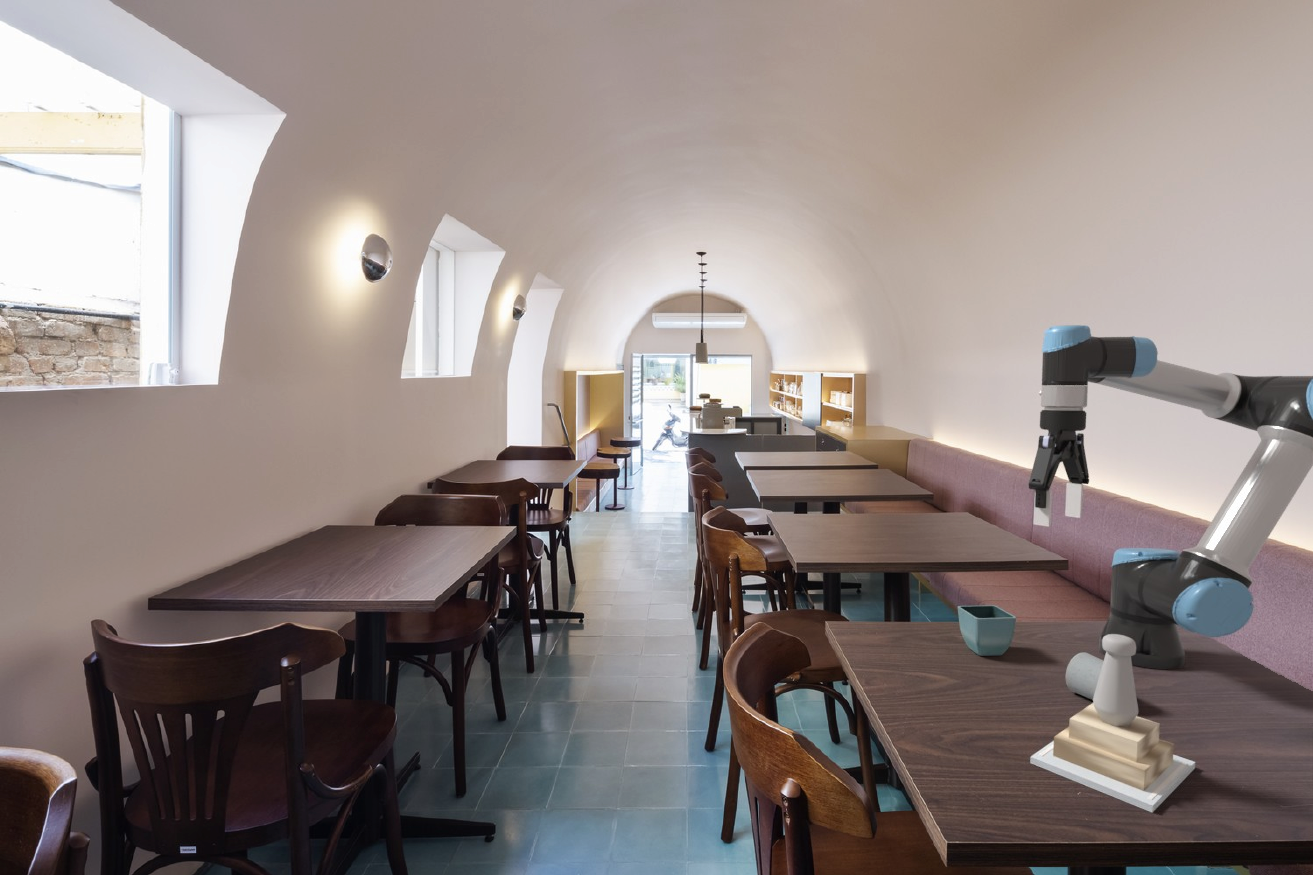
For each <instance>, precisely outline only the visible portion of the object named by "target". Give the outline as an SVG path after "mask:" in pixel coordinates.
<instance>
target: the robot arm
mask: <svg viewBox="0 0 1313 875" xmlns="http://www.w3.org/2000/svg"><path fill="white" fill-rule="evenodd" d="M1043 336H1044V338H1043V343H1042V344H1043V345H1042V350H1041V352H1042V364H1041V365H1042V369H1041V390H1040V391H1039V396H1041V397H1040V398H1041V399H1040V406H1041V407H1042V408H1044V409H1042V410H1041V411H1040V412H1039V413H1040V414H1039V415H1040V416H1039V428H1040V429H1041V430H1045V431H1048V433H1047V435H1039V437H1038V445H1037V450H1036V455H1035V458H1034V461H1033V466H1032V470H1031V473H1030V477H1029V481H1028V489H1029V490H1034V498H1033V499H1034V500H1033V502H1034V503H1033V519H1032V520H1033V521H1032V522H1033V523H1032V525H1035V526H1042V527H1051V523H1052V522H1051V520H1052V505H1053V504H1052V503H1053V502H1052V500H1053V490H1050V489H1051V486H1052V484H1053V482H1054V478H1055V477H1056V474H1057V471H1058V470H1059V466H1060V463H1062V464H1063V468H1064V471H1065V473H1066V476H1067V479H1068V482H1066V486H1065V488H1066V489H1065V508H1064V512H1065V514H1064V516H1065V517H1070V518H1077V519H1081V518H1082V514H1083V497H1084V496H1083V493H1084V485H1089V483H1090V475H1089V468H1088V463H1087V457H1086V450H1085V435H1084V433H1082V432H1081V433H1080V431H1084V430H1086V427H1087V412H1086V411H1085V410H1084V408H1087V407H1088V393H1089V392H1088V389H1089V388H1088V387H1089V383H1093V384H1098V385H1102V386H1105V387H1110V388H1113V389H1117V390H1121V391H1125V392H1129V393H1132V394H1137V395H1141V396H1145V397H1149V398H1152V399H1155V400H1156V399H1157V400H1160V401H1165V402H1168V403H1171V404H1176V405H1181V406H1183V407H1188V408H1191V409H1196V410H1200V411H1201V412H1202V414H1203V415H1204V416H1206V417H1208V418H1210V419H1211V418H1212V419H1214V420H1218V421H1222V422H1225V423H1229V424H1232V425H1235V426H1239V427H1242V428H1245V429H1247V430H1252V431H1255V432H1257V434H1258V436H1259V438H1260V442H1259V443H1258V446H1257V447H1256V449H1255V451H1254V452H1253V454H1252V455H1251V456H1250V459H1249V460H1248V462H1247V463H1246V465H1245V467H1244V468H1243V470H1242V471H1241V472H1240V475H1239V476H1238V478H1237V479H1236V481H1235V483H1234V485H1233V486H1232V488H1231V489H1230V491H1229V493H1228V494H1227V496H1226V498H1225V499H1224V501H1223V503H1222V504H1221V506H1220V507H1219V509H1218V510H1217V512H1216V513H1215V515H1214V517H1213V518H1212V520H1211V522H1210V523H1209V525H1208V526H1207V528H1206V530H1205V531H1204V533H1203V535H1202V537H1201V538H1200V540H1199V541H1198V543H1197V545H1195V546H1193V547H1191V548H1184V549H1182V551H1181V552H1179V551H1177V550H1173V549H1165V548H1155V547H1154V548H1153V547H1121V548H1119V549H1118V548H1117V549H1116V550H1114V553H1113V556H1112V557H1113V558H1112V564H1111V570H1112V571H1111V587H1110V588H1111V589H1110V609H1109V610H1110V612H1109V616H1108V619H1107V621H1106V623H1105V626H1103V630H1102V632H1101V634H1100V636H1099V639H1098V650H1099V651H1100V652H1101V653H1102V654H1103V655H1105V654H1106V651H1105V650H1103V647H1102V640H1103V637H1104V636H1106V635H1108V634H1119V635H1124V636H1127V637H1130V638H1131V639H1133V640H1134V641H1135V644H1136V653H1135V655H1133V656H1131V661H1132V666H1137V667H1142V668H1147V669H1149V668H1150V669H1157V670H1173V669H1178V668H1179V669H1180V668H1181V667H1184V666H1185V662H1186V660H1185V659H1186V653H1185V650H1184V647H1183V643H1182V640H1181V636H1180V634H1179V631H1178V626H1179V627H1180V628H1182V629H1184V630H1186V631H1188V632H1191V633H1195V634H1198V635H1201V636H1205V637H1208V638H1220V637H1224V636H1229V635H1233V634H1234V633H1237V632H1239V630H1241V629H1242V628H1243V627H1245V625H1247V623H1248V622H1249V621H1250V619H1251V617H1252V615H1253V612H1254V608H1255V605H1254V604H1253V603H1252V602H1254V597H1253V595H1252V593H1251V591H1250V590H1249V589H1250V587H1251V586H1252V584H1253V579H1252V576H1251V574H1250V572H1249V570H1250V567H1251V566H1252V565H1253V562H1254V561H1255V560H1256V557H1257V556H1258V554H1259V553H1260V552H1261V550H1262V548H1263V546H1264V544H1266V542H1267V540H1268V539H1269V537H1270V535H1271V534H1272V532H1273V530H1274V529H1275V527H1276V526H1277V524H1278V522H1279V521H1280V519H1281V518H1282V516H1283V514H1284V513H1285V511H1286V509H1287V508H1288V506H1289V505H1290V503H1291V502H1292V499H1293V498H1294V497H1295V495H1296V493H1297V491H1298V490H1299V488H1300V487H1301V485H1302V484H1303V482H1304V480H1305V479H1306V477H1307V475H1308V474H1309V472H1310V471H1311V469H1312V468H1313V375H1272V376H1271V375H1268V376H1266V375H1265V376H1264V375H1263V376H1261V375H1260V376H1251V375H1250V376H1248V375H1239V374H1234V373H1230V372H1222V373H1218V374H1214V373H1210V372H1205V371H1201V370H1198V369H1194V368H1190V367H1186V366H1182V365H1178V364H1174V363H1170V362H1166V361H1163V360H1162V361H1161V360H1158V354H1159V353H1158V349H1157V345H1156V344H1155V342H1154V341H1153V340H1151V339H1150V338H1148V337H1141V336H1140V337H1139V336H1134V335H1132V336H1103V337H1101V336H1100V337H1099V336H1092V333H1091V328H1090V327H1089V326H1088V325H1081V324H1078V325H1077V324H1068V325H1056V326H1055V325H1054V326H1050V327H1048V328H1047V329H1046V330H1045V332H1044V335H1043ZM1076 432H1078V433H1076Z"/></svg>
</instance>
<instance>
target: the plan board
mask: <svg viewBox="0 0 1313 875" xmlns="http://www.w3.org/2000/svg"><path fill="white" fill-rule="evenodd" d="M1053 746H1054V740H1052V741H1051V742H1049V743H1048V744H1047V745H1045V746H1044V747H1042V748H1041V749H1039V750H1038V751H1037V752H1035V753H1033V754H1032V755H1031V756H1029V757H1030V760H1029V761H1030V762H1029V763H1030V764H1032V765H1034V766H1037V767H1038V768H1039V767H1040V768H1041V769H1044V770H1046V771H1049V772H1051V773H1053V774H1056V775H1059V776H1061V777H1063V778H1066V779H1067V780H1070V781H1073V782H1075V783H1078V784H1081V785H1084V786H1086V787H1088V788H1091V789H1093V790H1096V791H1098V792H1101V793H1103V794H1105V795H1108V796H1110V797H1113V798H1115V799H1118V800H1120V801H1122V802H1125V803H1127V804H1130V805H1132V806H1135V807H1137V808H1140V809H1142V810H1145V811H1147V812H1149V813H1154V812H1155V811H1156V810H1157V808H1159V807H1160V805H1161V804H1162V803H1164V801H1165V800H1166V799H1168V797H1169V796H1170V795H1171V794H1172V793H1173V792H1174V791H1175V790H1176V789H1177V788H1178V787H1179V785H1181V783H1183V781H1184V780H1185V779H1186V778H1187V777H1188V776H1189V775H1190V774H1191V773H1192V772H1193V771H1195V769H1196V761H1193V760H1190V759H1188V758H1184V757H1181V756H1179V755H1175V754H1173V763H1172V764H1171V765H1170V766H1169V767H1168V768H1167V769H1166V770H1165V771H1164V772H1163V773H1162V774H1161V775H1160V776H1159V777H1158V778H1157V779H1156V780H1155V781H1154V782H1153V783H1152V784H1151V785H1149V786H1148V787H1147V788H1146V789H1145V790H1144V791H1142V790H1139V789H1137V788H1134V787H1132V786H1129V785H1127V784H1124V783H1121V782H1119V781H1116V780H1114V779H1111V778H1109V777H1106V776H1104V775H1101V774H1098V773H1096V772H1093V771H1091V770H1088V769H1086V768H1083V767H1080V766H1078V765H1075V764H1073V763H1070V762H1068V761H1065V760H1063V759H1060V758H1057V757H1055V756H1053Z"/></svg>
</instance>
